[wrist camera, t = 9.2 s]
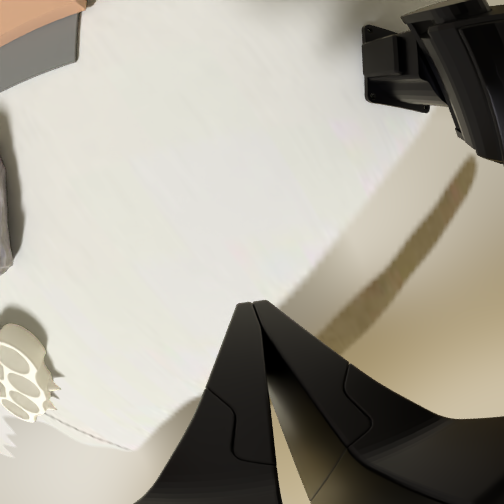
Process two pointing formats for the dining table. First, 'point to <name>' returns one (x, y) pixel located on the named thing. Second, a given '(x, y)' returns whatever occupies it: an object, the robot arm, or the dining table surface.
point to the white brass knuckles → (24, 374)
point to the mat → (39, 51)
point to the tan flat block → (33, 15)
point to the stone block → (4, 225)
